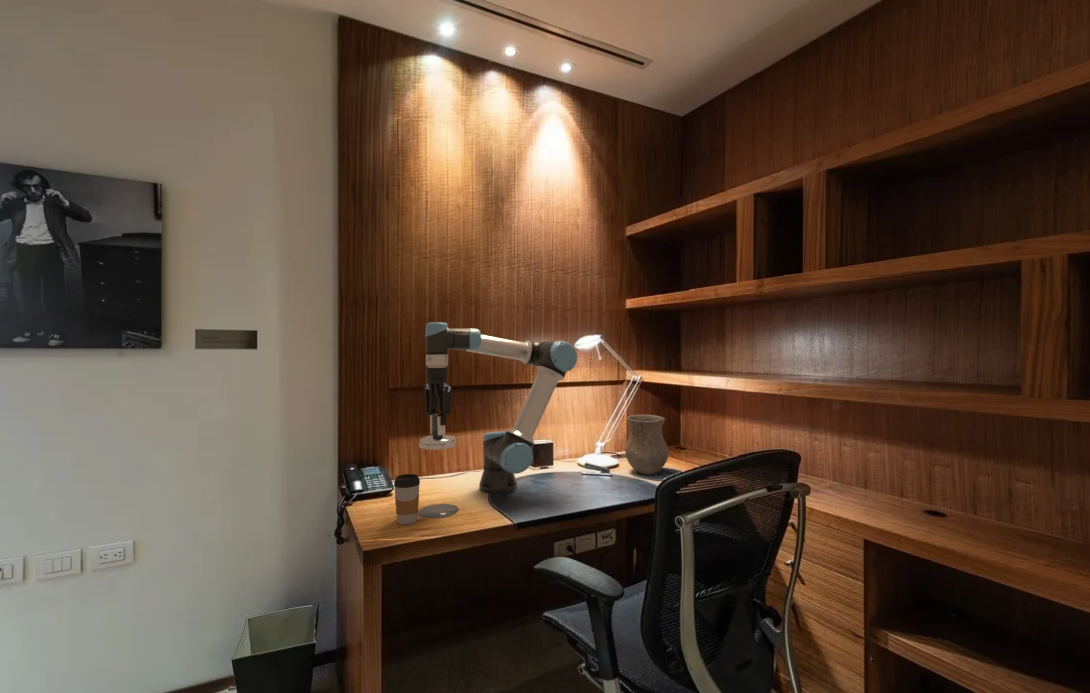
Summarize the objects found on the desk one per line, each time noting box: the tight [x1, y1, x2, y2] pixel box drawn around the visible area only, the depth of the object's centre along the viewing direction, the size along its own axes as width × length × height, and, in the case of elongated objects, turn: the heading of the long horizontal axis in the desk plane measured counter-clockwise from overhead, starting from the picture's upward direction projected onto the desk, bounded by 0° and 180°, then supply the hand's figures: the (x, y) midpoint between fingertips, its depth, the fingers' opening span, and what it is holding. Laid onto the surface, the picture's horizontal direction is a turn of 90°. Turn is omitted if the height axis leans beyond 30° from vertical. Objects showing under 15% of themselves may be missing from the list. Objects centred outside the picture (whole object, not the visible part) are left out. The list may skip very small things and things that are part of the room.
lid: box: [418, 415, 457, 451], centre depth 161 cm, size 12×12×10 cm
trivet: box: [418, 503, 460, 520], centre depth 161 cm, size 14×14×1 cm
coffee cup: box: [393, 473, 421, 525], centre depth 153 cm, size 8×8×15 cm
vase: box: [624, 414, 670, 475], centre depth 208 cm, size 20×19×25 cm
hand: (437, 433), depth 161 cm, fingers closed on lid, 3 cm apart
